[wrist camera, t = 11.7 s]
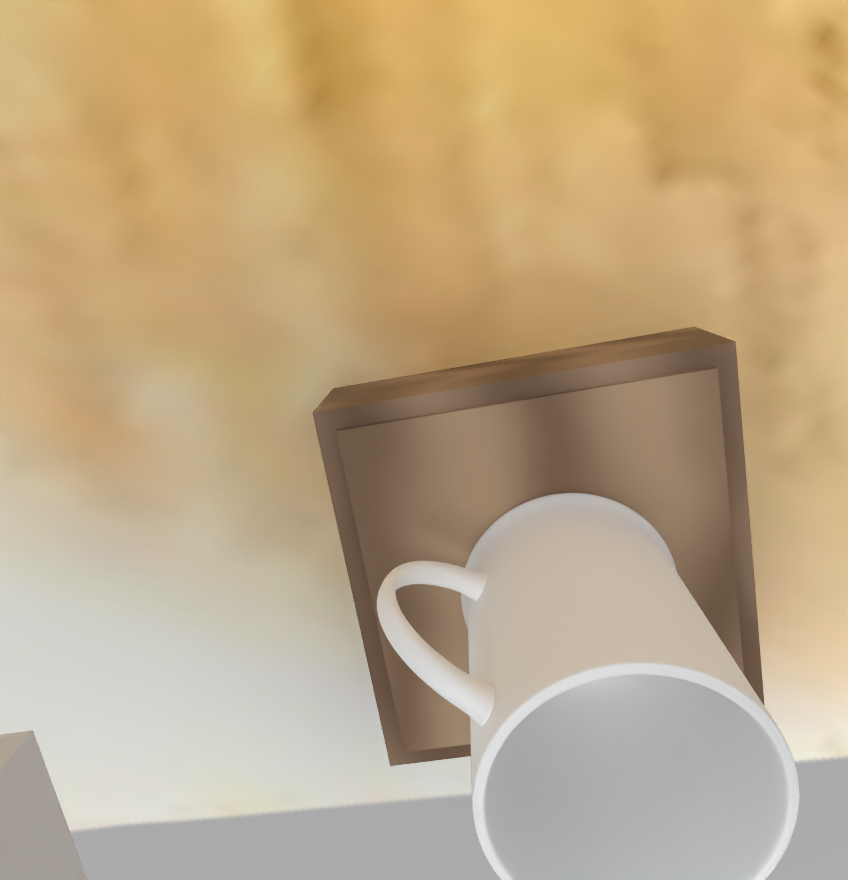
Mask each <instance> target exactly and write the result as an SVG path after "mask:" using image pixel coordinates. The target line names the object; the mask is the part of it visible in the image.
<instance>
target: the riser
mask: <svg viewBox="0 0 848 880" xmlns="http://www.w3.org/2000/svg"><path fill="white" fill-rule="evenodd" d="M313 416H314V421H315V425H316V430H317V434H318V439H319V443H320V448H321V453H322V457H323V462H324V466H325V471H326V475H327V480H328V484H329V489H330V493H331V498H332V503H333V507H334V512H335V516H336V521H337V525H338V530H339V534H340V539H341V543H342V548H343V552H344V557H345V562H346V566H347V571H348V575H349V580H350V584H351V589H352V593H353V598H354V602H355V607H356V612H357V616H358V621H359V625H360V630H361V634H362V639H363V643H364V648H365V652H366V657H367V661H368V666H369V671H370V675H371V680H372V684H373V689H374V693H375V698H376V702H377V707H378V711H379V716H380V720H381V725H382V730H383V734H384V739H385V743H386V748H387V752H388V757H389V761H390V766H394V765H402V764H410V763H418V762H426V761H434V760H442V759H450V758H458V757H466V756H471V732H470V716H469V715H467V714H466V713H465V712H463V711H462V710H460V709H459V708H458V707H456V706H455V705H453V704H452V703H450V702H449V701H448V700H446V699H445V698H443V697H442V696H441V695H439V694H438V693H437V692H436V691H434V690H433V689H432V688H431V687H430V686H428V685H427V684H426V683H425V682H424V681H423V680H422V679H421V678H420V677H418V676H417V675H416V674H415V673H414V672H413V671H412V670H411V669H410V667H409V666H408V665H407V664H406V663H405V662H404V661H403V660H402V658H401V657H400V656H399V655H398V653H397V652H396V651H395V649H394V648H393V646H392V645H391V643H390V642H389V640H388V639H387V637H386V635H385V633H384V631H383V629H382V626H381V624H380V621H379V617H378V612H377V597H378V592H379V589H380V587H381V585H382V583H383V581H384V579H385V578H386V576H387V575H388V574H389V573H390V572H391V571H392V570H393V569H395V568H396V567H398V566H400V565H402V564H404V563H408V562H413V561H436V562H443V563H448V564H452V565H456V566H460V567H463V568H465V567H466V564H467V561H468V558H469V556H470V554H471V552H472V550H473V548H474V546H475V545H476V543H477V542H478V540H479V539H480V537H481V536H482V535H483V534H484V532H485V531H486V530H487V529H488V528H489V527H490V526H491V525H492V524H493V523H494V522H495V521H496V520H498V519H499V518H500V517H501V516H503V515H504V514H505V513H507V512H508V511H510V510H512V509H513V508H515V507H517V506H519V505H521V504H523V503H525V502H528V501H530V500H533V499H536V498H539V497H543V496H547V495H553V494H560V493H584V494H591V495H597V496H601V497H605V498H608V499H611V500H614V501H616V502H618V503H621V504H623V505H625V506H627V507H628V508H630V509H632V510H633V511H635V512H636V513H638V514H639V515H640V516H642V517H643V518H644V519H645V520H647V521H648V522H649V523H650V524H651V525H652V526H653V527H654V528H655V530H656V531H657V532H658V533H659V535H660V536H661V537H662V539H663V540H664V542H665V543H666V545H667V547H668V549H669V551H670V553H671V555H672V558H673V560H674V563H675V567H676V570H677V573H678V575H679V577H680V578H681V580H682V581H683V583H684V584H685V586H686V587H687V589H688V590H689V592H690V593H691V595H692V596H693V598H694V600H695V601H696V603H697V604H698V606H699V607H700V609H701V610H702V612H703V613H704V615H705V616H706V618H707V619H708V621H709V622H710V624H711V625H712V627H713V629H714V630H715V632H716V633H717V635H718V636H719V638H720V639H721V641H722V642H723V644H724V645H725V647H726V648H727V650H728V651H729V653H730V654H731V656H732V658H733V659H734V661H735V662H736V664H737V665H738V667H739V668H740V670H741V671H742V673H743V674H744V676H745V677H746V679H747V680H748V682H749V683H750V685H751V687H752V688H753V690H754V691H755V693H756V694H757V696H758V697H759V699H760V700H761V702H762V703H763V705H764V696H763V683H762V671H761V658H760V645H759V633H758V620H757V608H756V595H755V583H754V570H753V558H752V545H751V532H750V520H749V507H748V495H747V482H746V470H745V457H744V444H743V432H742V419H741V407H740V394H739V382H738V369H737V357H736V344H735V342H734V341H732V340H729V339H726V338H723V337H721V336H718V335H715V334H713V333H710V332H707V331H704V330H702V329H699V328H696V327H692V328H686V329H680V330H674V331H668V332H662V333H657V334H651V335H645V336H639V337H633V338H627V339H621V340H616V341H610V342H604V343H598V344H592V345H586V346H580V347H575V348H569V349H563V350H557V351H551V352H545V353H539V354H534V355H528V356H522V357H516V358H510V359H504V360H498V361H493V362H487V363H481V364H475V365H469V366H463V367H457V368H451V369H446V370H440V371H434V372H428V373H422V374H416V375H410V376H405V377H399V378H393V379H387V380H381V381H375V382H369V383H364V384H358V385H352V386H346V387H340V388H334V389H333V390H332V391H331V392H330V393H329V394H328V396H327V397H326V398H325V399H324V400H323V402H322V403H321V404H320V405H319V406H318V407H317V409H316V410H315V411H314V412H313ZM395 593H396V599H397V602H398V605H399V607H400V609H401V611H402V613H403V615H404V616H405V618H406V619H407V621H408V622H409V624H410V625H411V626H412V627H413V629H414V630H415V631H416V632H417V633H418V634H419V635H420V636H421V638H422V639H423V640H424V641H425V642H427V643H428V644H429V645H430V646H431V647H432V648H433V649H434V650H435V651H436V652H438V653H439V654H440V655H441V656H443V657H444V658H445V659H446V660H448V661H449V662H451V663H452V664H453V665H455V666H456V667H458V668H459V669H461V670H462V671H464V672H466V673H467V674H469V643H468V628H467V626H466V623H465V619H464V615H463V610H462V603H461V593H460V592H457V591H455V590H452V589H448V588H444V587H440V586H435V585H428V584H411V585H406V586H403V587H400V588H398V589H397V590H396V592H395Z"/></svg>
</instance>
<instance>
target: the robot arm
mask: <svg viewBox="0 0 848 880" xmlns="http://www.w3.org/2000/svg"><path fill="white" fill-rule="evenodd" d="M0 880H87V878H86V875H85V873H84V870H83V867H82V864H81V861H80V859H79V856H78V853H77V850H76V848H75V845H74V842H73V839H72V837H71V834H70V831H69V829H68V826H67V823H66V820H65V818H64V815H63V812H62V809H61V807H60V804H59V801H58V798H57V796H56V793H55V790H54V788H53V785H52V782H51V779H50V777H49V774H48V771H47V768H46V766H45V763H44V760H43V757H42V755H41V752H40V749H39V747H38V744H37V741H36V738H35V736H34V733H33V731H27V732H19V733H12V734H5V735H0Z"/></svg>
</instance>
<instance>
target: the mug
mask: <svg viewBox="0 0 848 880" xmlns="http://www.w3.org/2000/svg"><path fill="white" fill-rule="evenodd" d="M411 584H428V585H435V586H440V587H444V588H448V589H452V590H455V591H457V592H460V593H461V603H462V610H463V615H464V619H465V623H466V626H467V628H468V643H469V674H467V673H466V672H464V671H462V670H461V669H459V668H458V667H456V666H455V665H453V664H452V663H451V662H449V661H448V660H446V659H445V658H444V657H443V656H441V655H440V654H439V653H438V652H436V651H435V650H434V649H433V648H432V647H431V646H430V645H429V644H428V643H427V642H425V641H424V640H423V639H422V638H421V636H420V635H419V634H418V633H417V632H416V631H415V630H414V629H413V627H412V626H411V625H410V624H409V622H408V621H407V619H406V618H405V616H404V615H403V613H402V611H401V609H400V607H399V605H398V602H397V599H396V593H395V592H396V590H397V589H398V588H400V587H403V586H406V585H411ZM377 612H378V617H379V621H380V624H381V626H382V629H383V631H384V633H385V635H386V637H387V639H388V640H389V642H390V643H391V645H392V646H393V648H394V649H395V651H396V652H397V653H398V655H399V656H400V657H401V658H402V660H403V661H404V662H405V663H406V664H407V665H408V666H409V667H410V669H411V670H412V671H413V672H414V673H415V674H416V675H417V676H418V677H420V678H421V679H422V680H423V681H424V682H425V683H426V684H427V685H428V686H430V687H431V688H432V689H433V690H434V691H436V692H437V693H438V694H439V695H441V696H442V697H443V698H445V699H446V700H448V701H449V702H450V703H452V704H453V705H455V706H456V707H458V708H459V709H460V710H462V711H463V712H465V713H466V714H467V715H469V716H470V732H471V777H472V807H473V817H474V823H475V828H476V832H477V836H478V839H479V842H480V845H481V847H482V849H483V852H484V854H485V856H486V857H487V860H488V861H489V863H490V865H491V866H492V868H493V869H494V871H495V872H496V874H497V875H498V876H499V877H500V879H501V880H765V879H766V878H767V877H768V875H769V874H770V873H771V872H772V871H773V869H774V868H775V866H776V865H777V864H778V862H779V861H780V859H781V857H782V855H783V854H784V852H785V850H786V848H787V846H788V844H789V841H790V839H791V836H792V833H793V831H794V827H795V823H796V819H797V814H798V806H799V784H798V776H797V771H796V767H795V763H794V760H793V757H792V754H791V751H790V749H789V747H788V744H787V742H786V740H785V739H784V737H783V735H782V733H781V731H780V730H779V728H778V726H777V725H776V723H775V722H774V720H773V719H772V717H771V716H770V714H769V712H768V711H767V709H766V708H765V706H764V705H763V703H762V702H761V700H760V699H759V697H758V696H757V694H756V693H755V691H754V690H753V688H752V687H751V685H750V683H749V682H748V680H747V679H746V677H745V676H744V674H743V673H742V671H741V670H740V668H739V667H738V665H737V664H736V662H735V661H734V659H733V658H732V656H731V654H730V653H729V651H728V650H727V648H726V647H725V645H724V644H723V642H722V641H721V639H720V638H719V636H718V635H717V633H716V632H715V630H714V629H713V627H712V625H711V624H710V622H709V621H708V619H707V618H706V616H705V615H704V613H703V612H702V610H701V609H700V607H699V606H698V604H697V603H696V601H695V600H694V598H693V596H692V595H691V593H690V592H689V590H688V589H687V587H686V586H685V584H684V583H683V581H682V580H681V578H680V577H679V575H678V573H677V570H676V567H675V563H674V560H673V558H672V555H671V553H670V551H669V549H668V547H667V545H666V543H665V542H664V540H663V539H662V537H661V536H660V535H659V533H658V532H657V531H656V530H655V528H654V527H653V526H652V525H651V524H650V523H649V522H648V521H647V520H645V519H644V518H643V517H642V516H640V515H639V514H638V513H636V512H635V511H633V510H632V509H630V508H628V507H627V506H625V505H623V504H621V503H618V502H616V501H614V500H611V499H608V498H605V497H601V496H597V495H591V494H584V493H560V494H553V495H547V496H543V497H539V498H536V499H533V500H530V501H528V502H525V503H523V504H521V505H519V506H517V507H515V508H513V509H512V510H510V511H508V512H507V513H505V514H504V515H503V516H501V517H500V518H499V519H498V520H496V521H495V522H494V523H493V524H492V525H491V526H490V527H489V528H488V529H487V530H486V531H485V532H484V534H483V535H482V536H481V537H480V539H479V540H478V542H477V543H476V545H475V546H474V548H473V550H472V552H471V554H470V556H469V558H468V561H467V564H466V567H465V568H463V567H460V566H456V565H452V564H448V563H443V562H436V561H413V562H408V563H404V564H402V565H400V566H398V567H396V568H395V569H393V570H392V571H391V572H390V573H389V574H388V575H387V576H386V578H385V579H384V581H383V583H382V585H381V587H380V589H379V592H378V597H377Z"/></svg>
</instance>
